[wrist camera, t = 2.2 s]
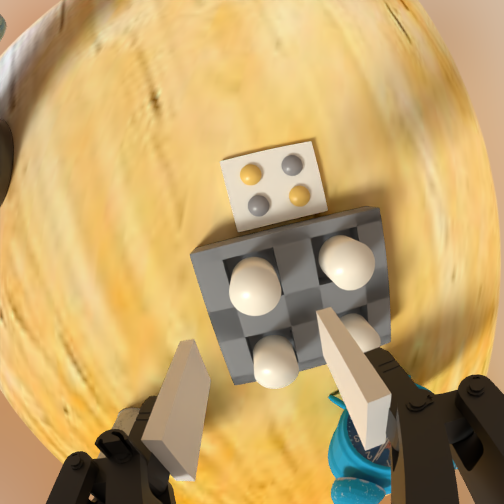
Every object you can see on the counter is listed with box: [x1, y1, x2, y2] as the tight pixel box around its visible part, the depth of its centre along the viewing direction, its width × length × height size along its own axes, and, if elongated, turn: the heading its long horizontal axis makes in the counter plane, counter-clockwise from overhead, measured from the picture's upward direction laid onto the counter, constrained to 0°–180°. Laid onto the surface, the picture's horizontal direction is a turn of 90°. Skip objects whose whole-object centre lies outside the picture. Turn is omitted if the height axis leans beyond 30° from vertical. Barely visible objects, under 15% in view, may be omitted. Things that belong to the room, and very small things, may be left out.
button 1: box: [229, 257, 281, 316], centre depth 22 cm, size 4×4×4 cm
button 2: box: [253, 335, 299, 389], centre depth 24 cm, size 4×4×4 cm
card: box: [220, 141, 328, 232], centre depth 25 cm, size 7×9×1 cm
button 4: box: [339, 313, 381, 353], centre depth 24 cm, size 4×4×4 cm
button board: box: [190, 206, 391, 385], centre depth 27 cm, size 15×18×3 cm
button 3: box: [319, 235, 375, 290], centre depth 22 cm, size 4×4×4 cm
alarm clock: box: [328, 375, 458, 504], centre depth 22 cm, size 17×10×20 cm, turn 95°
